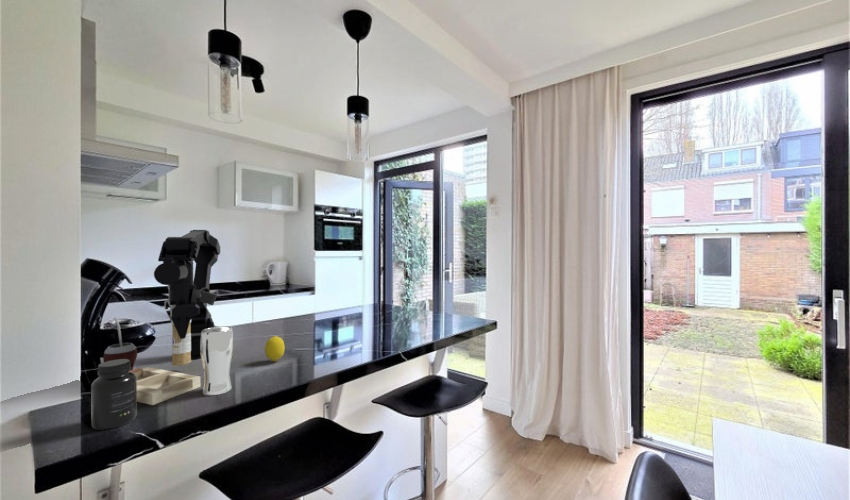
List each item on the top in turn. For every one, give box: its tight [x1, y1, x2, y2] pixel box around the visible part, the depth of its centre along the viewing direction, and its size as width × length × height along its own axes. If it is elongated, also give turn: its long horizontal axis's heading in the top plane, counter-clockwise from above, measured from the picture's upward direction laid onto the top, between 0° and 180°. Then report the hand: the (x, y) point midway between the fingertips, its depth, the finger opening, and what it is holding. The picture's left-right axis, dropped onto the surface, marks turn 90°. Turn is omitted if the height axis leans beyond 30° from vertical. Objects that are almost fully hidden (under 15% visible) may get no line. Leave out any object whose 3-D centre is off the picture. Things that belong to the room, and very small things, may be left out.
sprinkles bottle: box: [170, 320, 192, 367], centre depth 98 cm, size 5×5×14 cm
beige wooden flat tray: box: [129, 366, 201, 406], centre depth 86 cm, size 21×11×3 cm, turn 69°
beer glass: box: [200, 325, 234, 397], centre depth 85 cm, size 7×7×15 cm
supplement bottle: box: [90, 359, 138, 431], centre depth 69 cm, size 7×7×12 cm
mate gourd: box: [102, 317, 138, 371], centre depth 96 cm, size 8×8×15 cm
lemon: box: [264, 335, 286, 363], centre depth 106 cm, size 6×6×8 cm
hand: (181, 336), depth 98 cm, fingers closed on sprinkles bottle, 4 cm apart
